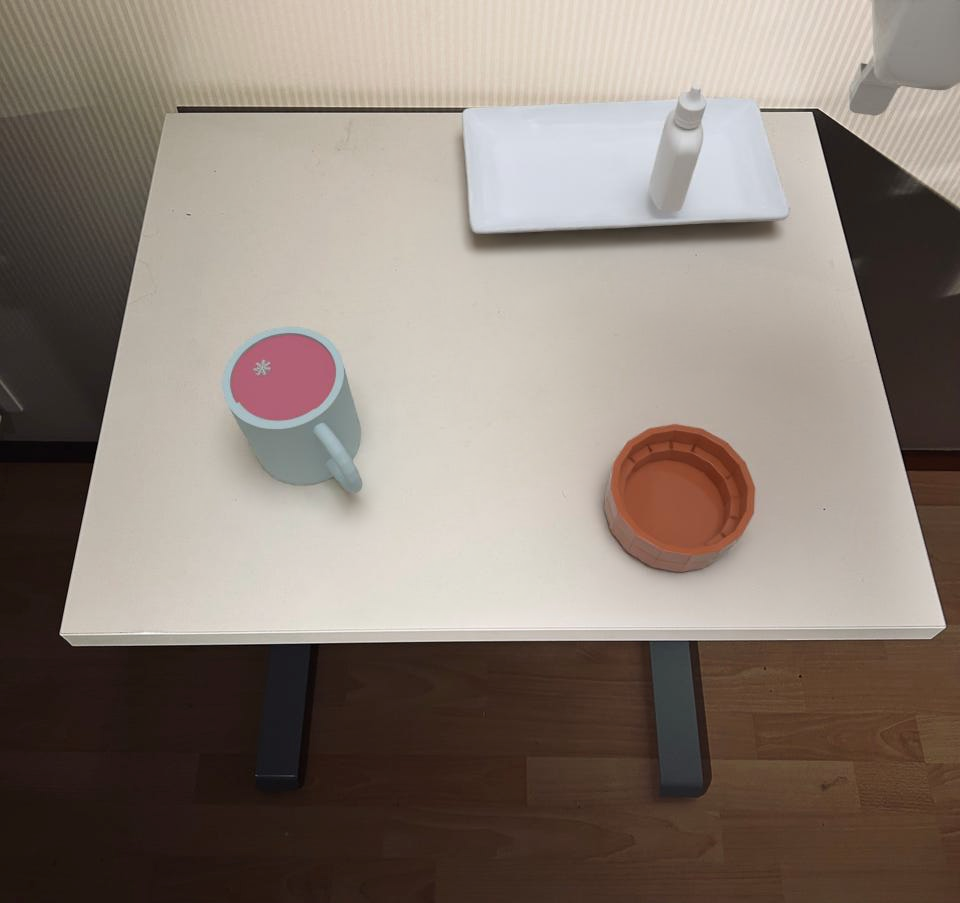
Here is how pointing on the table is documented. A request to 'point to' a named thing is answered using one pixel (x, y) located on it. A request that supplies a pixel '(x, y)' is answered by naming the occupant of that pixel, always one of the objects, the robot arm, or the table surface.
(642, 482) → the bowl
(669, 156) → the eye dropper bottle
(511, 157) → the tray
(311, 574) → the table surface
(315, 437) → the mug
